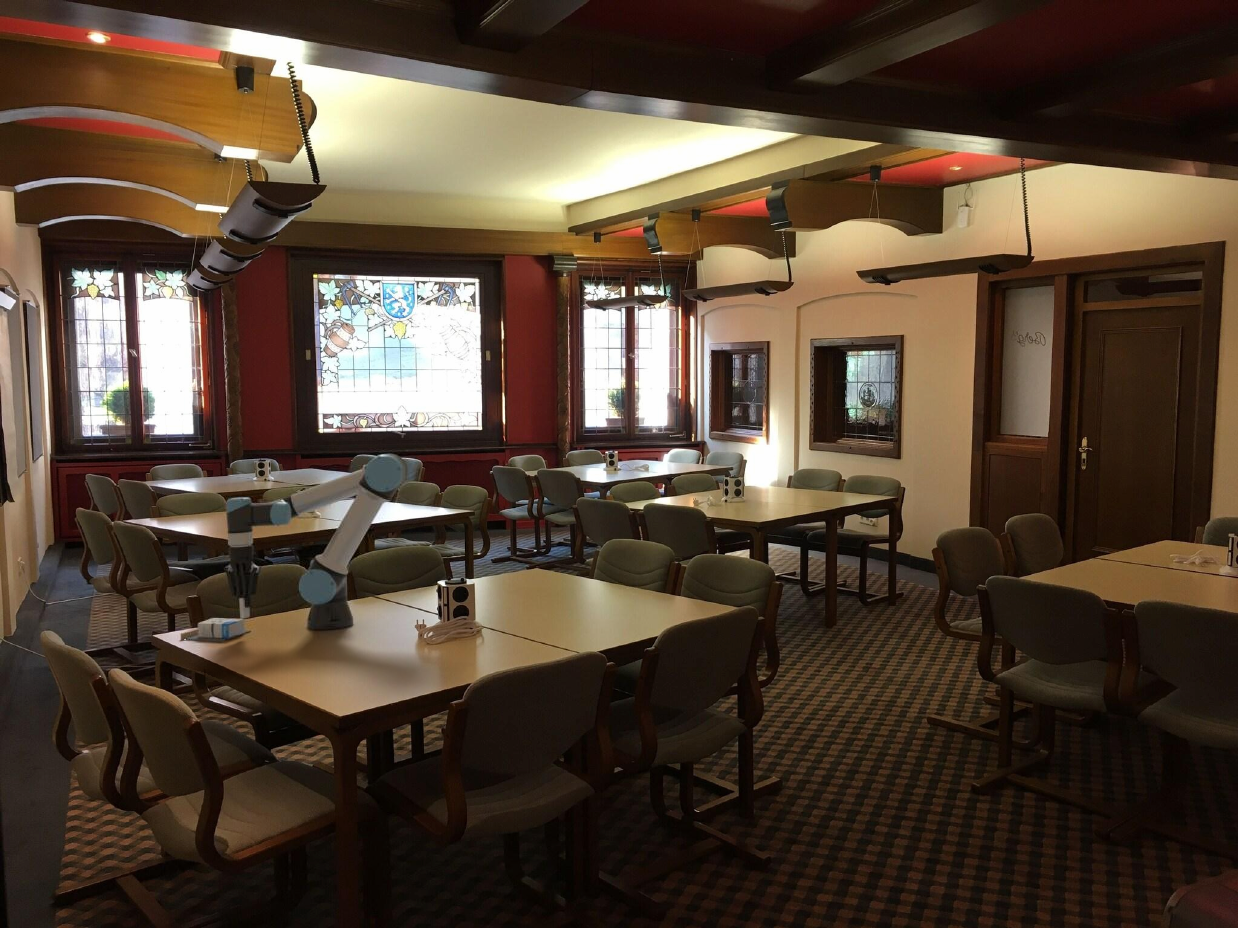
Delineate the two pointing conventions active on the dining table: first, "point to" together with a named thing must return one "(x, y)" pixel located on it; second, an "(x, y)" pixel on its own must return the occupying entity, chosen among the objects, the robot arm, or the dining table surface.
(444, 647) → the dining table surface
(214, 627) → the ink box
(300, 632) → the dining table surface
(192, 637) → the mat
